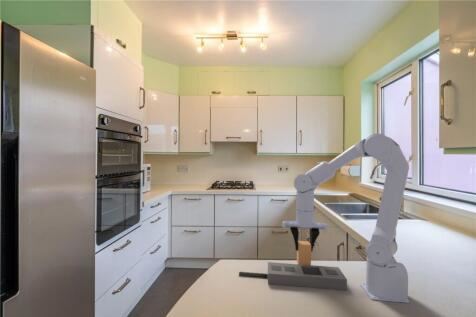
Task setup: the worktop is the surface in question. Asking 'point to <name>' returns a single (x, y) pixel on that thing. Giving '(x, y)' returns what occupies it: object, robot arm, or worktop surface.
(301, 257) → the orange rectangular block
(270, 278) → the power strip
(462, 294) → the worktop surface
